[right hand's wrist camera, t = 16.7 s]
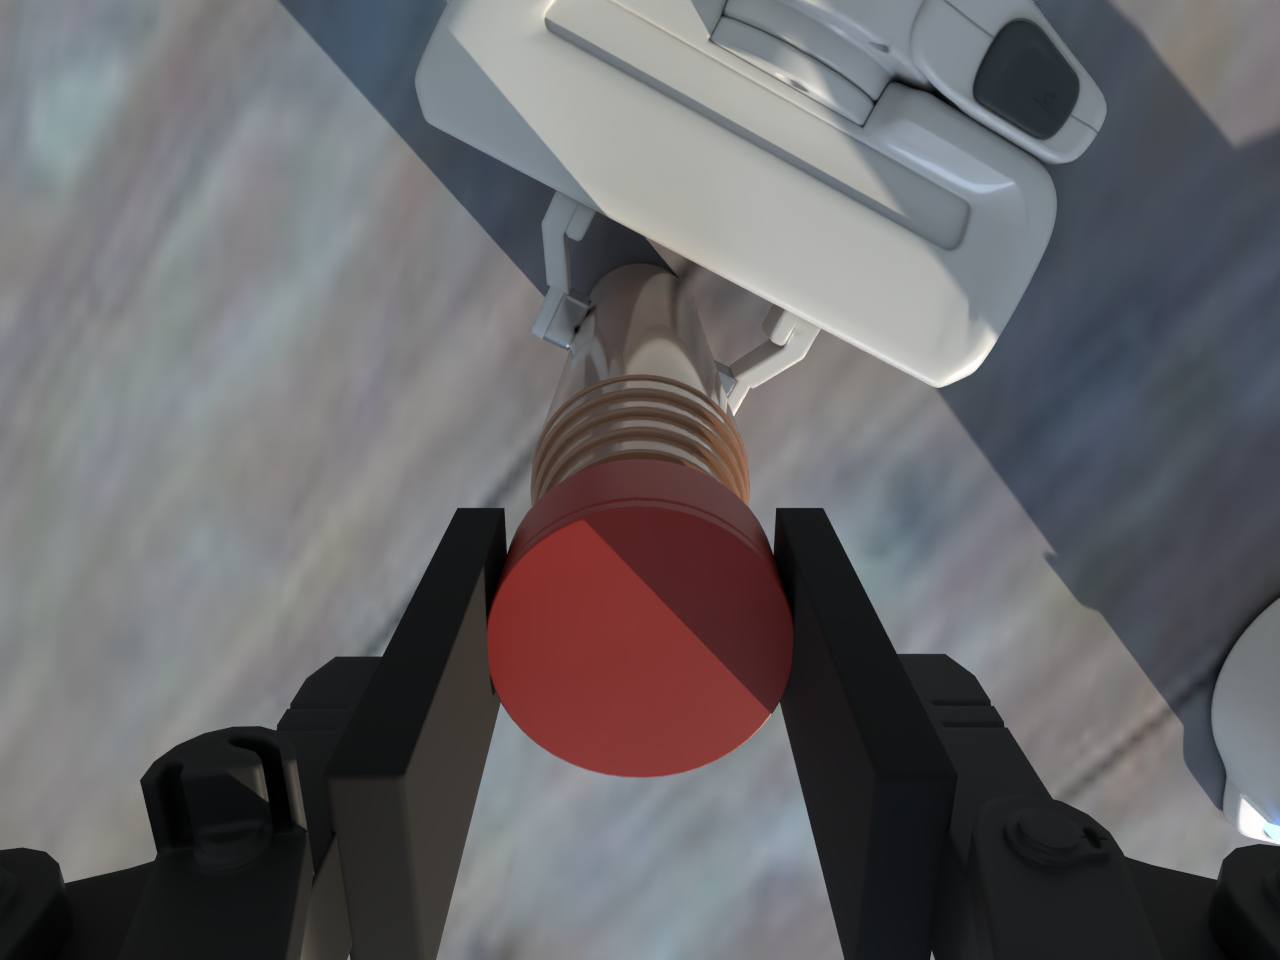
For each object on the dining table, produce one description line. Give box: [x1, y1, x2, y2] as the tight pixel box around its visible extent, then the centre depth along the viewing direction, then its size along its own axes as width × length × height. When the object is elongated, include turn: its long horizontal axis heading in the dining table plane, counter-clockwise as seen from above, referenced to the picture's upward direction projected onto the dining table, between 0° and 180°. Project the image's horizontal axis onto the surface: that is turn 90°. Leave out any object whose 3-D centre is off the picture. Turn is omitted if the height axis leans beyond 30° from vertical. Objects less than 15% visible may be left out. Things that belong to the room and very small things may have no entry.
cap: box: [487, 459, 794, 778], centre depth 14 cm, size 4×4×2 cm
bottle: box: [530, 263, 750, 507], centre depth 25 cm, size 5×5×26 cm
